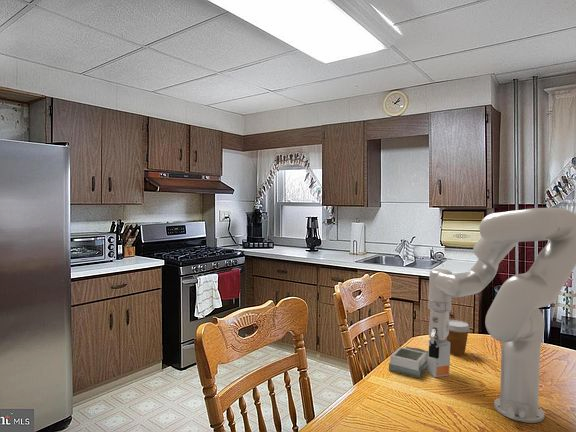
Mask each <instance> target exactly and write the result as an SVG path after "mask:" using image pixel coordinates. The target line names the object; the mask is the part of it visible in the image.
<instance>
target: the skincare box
mask: <svg viewBox="0 0 576 432" xmlns="http://www.w3.org/2000/svg"><path fill="white" fill-rule="evenodd" d="M435 341H436V343H437V340H435ZM429 343H430V339H428V344H429ZM438 347H439V358H438V359H436V358H432V357H429V350H427V351H428V369H427V373H428V374H429V375H431V376H432V377H434V378H440V377H448V376H450V369H451V368H450V365H451V364H450V360H451V354H450V342H449V341H447V340H444V341H441V340H440V341H439V345H438Z"/></svg>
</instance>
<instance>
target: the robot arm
mask: <svg viewBox="0 0 576 432" xmlns="http://www.w3.org/2000/svg"><path fill="white" fill-rule="evenodd" d="M478 230H479V234H480V236H481V238H480V239H479V240H478V241H477V242H476V243H475V245H474V246H473V253H474V255H475V256H476V258H477V261H476V262H475V264H474V265H473V266H472V267H471V269H470V270H469V271H466V272H460V273H459V272H457V273H452V271H451V270H448V269H444V268H443V269H442V268H433V269H432V270H430V272H429V278H428V279H429V280H428V298H427V299H428V300H427V301H428V303H427V308H428V310H430V312H429V314H430V315H429V325H428V338H429V340H430V343H429V342H428V351H429V357H432V358H436V359H438V358H439V347H438V345H439V341H440V340H441V341H444V340H446V337H447V336H448V334H449V320H450V312H452V298H462V297H467V296H472V295H476V294H479V293H480V292H482V291H483V290H484V289H485V288H486V287H488V285H489V284H490V283H491V282H492V281H493V280H494V278H495V276H496V275H497V272H498V270H499V264H501V262H502V261H503V260H504V259H505V258H506V256H507V255H508V254H509V253H510V251H512V250H513V248H515V247H516V245H517V244H518V243H524V242H539V241H540V242H541V241H547V243H546V244H545V246H544V247H543V248H542V249H541V251H539V253H538V254H537V256H536V258H535V260H534V261H533V264H532V265H531V266H530V267H529V269H528V270H527V271H526V272H525V273H518V274H515V275H512V276H511V277H508V278H507V279H506V280H505V281H504V282H503V284H502V285H501V287H500V288H499V290H498V291H497V294H496V295H495V297H494V299H493V300H492V303H491V304H490V307H489V308H488V310H487V312H486V315H485V321H484V323H485V328H486V331H487V333H488V334H489V336H491V338H493V340H496V341H498V342H502V343H501V344H502V345H501V353H500V355H501V356H500V357H501V358H500V362H501V363H500V391H499V393H500V394H499V397H497V398H496V399H494V401H493V406H494V409H495V411H497V412H498V413H499V414H500V415H502V416H505V417H506V418H509V419H511V420H513V421H517V422H522V423H528V424H535V423H540V422H542V421H544V419H545V411H544V410H543V409H542V408H541V407H540V406H539V395H540V394H539V391H540V390H539V389H540V365H541V364H540V362H541V347H542V341H543V336H544V332H545V318H544V315H543V313H542V311H541V310H540V308H544V307H548V306H550V305H551V304H553V303H554V302H555V301H556V299H557V298H558V296H559V294H560V292H562V289H563V288H564V286H565V284H566V283H567V281H568V280H569V278H570V276H571V273H572V272H573V271H574V268H575V267H576V213H574V212H573V211H571V210H569V209H566V208H563V207H562V208H561V207H536V208H535V207H534V208H533V207H531V208H525V209H518V210H517V209H516V210H509V211H502V212H501V211H500V212H491V213H489V214H488V215H485V217H483V218H482V220H481V221H480V224H479V229H478ZM435 340H437V343H436V341H435Z"/></svg>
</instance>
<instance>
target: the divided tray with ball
mask: <svg viewBox="0 0 576 432" xmlns="http://www.w3.org/2000/svg"><path fill="white" fill-rule="evenodd" d="M428 351H429V350H424V349H421V348H418V347H412V346H411V347H410V346H405V347H402V346H399V347H397V349H396V350H394V352H393V353H392V354H390V357H389V358H390V359H389V363H388V371H389V372H394V373H397V374H402V375H406V376H409V377H413V378H416V379H421V378H422V377H423V375H424V374H425V373H426V371H428Z"/></svg>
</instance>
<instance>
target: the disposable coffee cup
mask: <svg viewBox="0 0 576 432" xmlns="http://www.w3.org/2000/svg"><path fill="white" fill-rule="evenodd" d="M469 331H470V326H469V324H468V323H467V322H466V321H463V320H456V319H455V320H454V319H449V334H448V336H447V337H446V340H447V341H449V342H450V356H451V355H452V356H455V357H462V356H463V357H464V356H465V355H466V354H465V353H466V348H467V342H468V336H469Z"/></svg>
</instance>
